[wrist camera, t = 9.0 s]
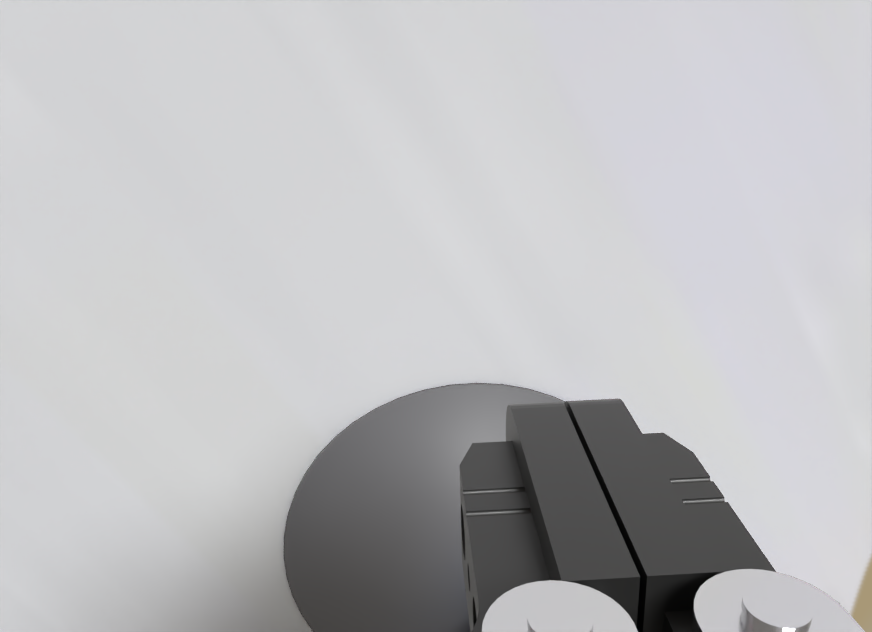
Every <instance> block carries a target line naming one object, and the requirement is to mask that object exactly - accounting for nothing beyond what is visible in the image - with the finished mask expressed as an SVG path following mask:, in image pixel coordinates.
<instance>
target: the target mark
mask: <svg viewBox="0 0 872 632" xmlns="http://www.w3.org/2000/svg"><path fill="white" fill-rule="evenodd" d="M548 402H563V403H564V402H565V401H562V400H560V399H558V398H556V397H553V396H551V395H547V394H544V393H541V392H538V391H534V390H531V389H527V388H521V387H516V386H510V385H504V384H487V383H469V384H455V385H447V386H441V387H436V388H431V389H426V390H422V391H419V392H416V393H412V394H409V395H406V396H403V397H400V398H397V399H395V400H393V401H391V402H389V403H386V404H384V405H382V406H380V407H378V408H376V409H374V410H372V411H371V412H369V413H367V414H366V415H364V416H363V417H361V418H359V419H358V420H356V421H354V422H353V423H352V424H351V425H349V426H348V427H347V428H346V429H344V430H343V431H342V432H341V433H339V434H338V435H337V436H336V437H335V438H334V439H333V440H332V441H331V442H330V443H329V444H328V445H327V446H326V447H325V448H324V449H323V450H322V451H321V452H320V454H319V455H318V456H317V457H316V459H315V460H314V462H313V463H312V464H311V466H310V467H309V469H308V470H307V472H306V473H305V475H304V477H303V479H302V481H301V483H300V485H299V487H298V488H297V490H296V492H295V495H294V498H293V501H292V504H291V507H290V510H289V513H288V518H287V524H286V530H285V536H284V561H285V567H286V574H287V579H288V582H289V585H290V588H291V592H292V595H293V598H294V600H295V602H296V604H297V606H298V608H299V610H300V612H301V614H302V615H303V617H304V618H305V620H306V621H307V623H308V624H309V626H310V627H311V628H312V630H313V631H314V632H470V625H469V615H468V608H467V600H466V591H465V583H464V574H463V566H462V542H461V504H460V463H461V462H462V460H463V458H464V457H465V455H466V453H467V451H468V450H469V448H470V446H471V445H472V443H483V442H502V441H506V411H507V406H508V404H528V403H548Z"/></svg>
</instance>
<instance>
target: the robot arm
mask: <svg viewBox="0 0 872 632" xmlns="http://www.w3.org/2000/svg"><path fill="white" fill-rule="evenodd" d="M460 504H461V542H462V566H463V574H464V583H465V591H466V600H467V608H468V615H469V625H470V632H865V631H864V630H863V629H862V628H861V627H860V625H859V624H858V623H857V622H856V621H855V620H854V619H853V617H852V616H851V615H850V614H849V613H848V612H847V611H846V610H845V609H844V608H843V607H842V606H841V605H840V604H839V603H838V602H837V601H836V600H834V599H833V598H832V597H831V596H829V595H828V594H827V593H825V592H823V591H822V590H820V589H818V588H817V587H815V586H813V585H811V584H809V583H807V582H805V581H803V580H800V579H797V578H795V577H792V576H789V575H785V574H782V573H778V572H776V571H775V570H774V568H773V567H772V565H771V564H770V562H769V561H768V560H767V558H766V557H765V555H764V554H763V552H762V551H761V550H760V548H759V547H758V545H757V544H756V542H755V541H754V539H753V538H752V537H751V535H750V534H749V532H748V531H747V529H746V528H745V526H744V525H743V524H742V522H741V521H740V519H739V518H738V516H737V515H736V513H735V512H734V511H733V509H732V508H731V506H730V505H729V503H728V502H725V501H724V496H723V495H722V493H721V492H720V490H719V489H718V488H717V486H716V485H715V483H714V482H713V481H712V482H711V481H710V476H709V475H708V473H707V472H706V470H705V469H704V467H703V466H702V464H701V463H700V462H699V460H698V459H697V457H696V456H695V454H694V453H693V452H692V451H690V450H689V449H687V448H686V447H684V446H683V445H681V444H680V443H678V442H676V441H675V440H673V439H672V438H670V437H669V436H667V435H666V434H664V433H651V434H642V433H641V431H640V429H639V428H638V426H637V424H636V423H635V421H634V419H633V418H632V416H631V414H630V413H629V411H628V409H627V408H626V406H625V404H624V403H623V401H622V400H621V399H603V400H583V401H566V402H564V403H563V402H548V403H528V404H508V406H507V411H506V441H502V442H483V443H472V445H471V446H470V448H469V450H468V451H467V453H466V455H465V457H464V458H463V460H462V462H461V463H460Z"/></svg>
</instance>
